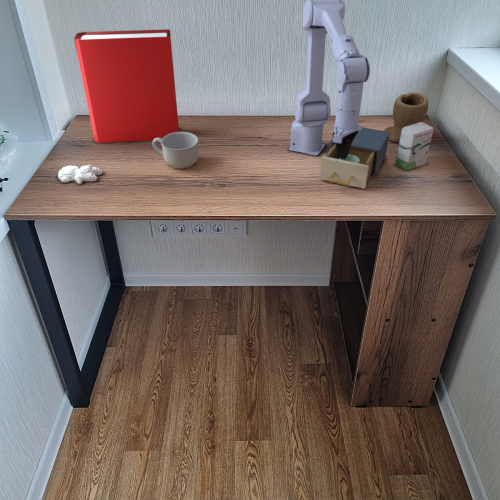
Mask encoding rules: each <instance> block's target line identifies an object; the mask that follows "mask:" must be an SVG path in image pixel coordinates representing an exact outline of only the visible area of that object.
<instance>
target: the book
mask: <svg viewBox="0 0 500 500" xmlns="http://www.w3.org/2000/svg"><path fill="white" fill-rule="evenodd" d="M73 38H74V39H73V40H74V44H75V45H74V46H75V50H76V55H77V59H78V60H77V61H78V64H79V69H80V75H81V80H82V85H83V90H84V94H85V99H86V105H87V109H88V115H89V120H90V125H91V129H92V134H93V141H94V142H95V143H98V144H104V143H123V142H125V143H126V142H141V141H143V142H144V141H153V140H154V139H155V138H161V139H163V138H164V137H165V136H166V135H168V134H171V133H175V132H179V129H180V126H179V116H178V106H177V105H178V104H177V93H176V92H177V91H176V83H175V82H176V81H175V72H174V59H173V49H172V37H171V29H170V28H168V29H138V30H137V29H136V30H135V29H134V30H106V31H105V30H104V31H103V30H100V31H81V32H77V33H76V34H75V36H74V37H73Z"/></svg>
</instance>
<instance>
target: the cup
mask: <svg viewBox="0 0 500 500" xmlns="http://www.w3.org/2000/svg"><path fill="white" fill-rule="evenodd" d="M339 159H340V160H344V161H349V162H354V163H359V161H360V160H359V158H358V157H357V156H354V155H348V156H347V158H346V159H341V158H339Z"/></svg>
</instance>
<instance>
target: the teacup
mask: <svg viewBox="0 0 500 500" xmlns="http://www.w3.org/2000/svg"><path fill="white" fill-rule="evenodd" d="M157 142H159V144H160V145H161V148H160V147H159V146H158V144H157ZM151 145H152V147H153V149H154V150H155V151H156V152H158V153H159V154H160V155H162V156H163V160H164V162H165V163H166V164H167V165H169V166H170V167H172V168H174V169H178V170H179V169H181V170H182V169H188V168H190V167H191V166H193V165H194V164H196V162H197V161H198V158H199V138H198V136H196V134H194V133H192V132H189V131H178V132H175V133H171V134H168V135H166V136H165V137H164V138H163V139H161V138H155V139H154V140H152V144H151Z"/></svg>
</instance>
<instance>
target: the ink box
mask: <svg viewBox="0 0 500 500" xmlns="http://www.w3.org/2000/svg"><path fill="white" fill-rule="evenodd" d="M434 129H435V128H434V127H433V126H431V125H428V124H426V123H425V122H420V123H416V124H413V125H410V126H406V127H404V128H402V132H401V137H400V142H398V148H397V153H396V157H395V163H394V165H395V166H396V167H398V168H400V169H402V170H404V171H406V172H407V171H410V170H413V169H415V168H419V167H421V166H424V165H426V162H427V159H428V155H429V150H430V146H431V141H432V137H433V133H434Z"/></svg>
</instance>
